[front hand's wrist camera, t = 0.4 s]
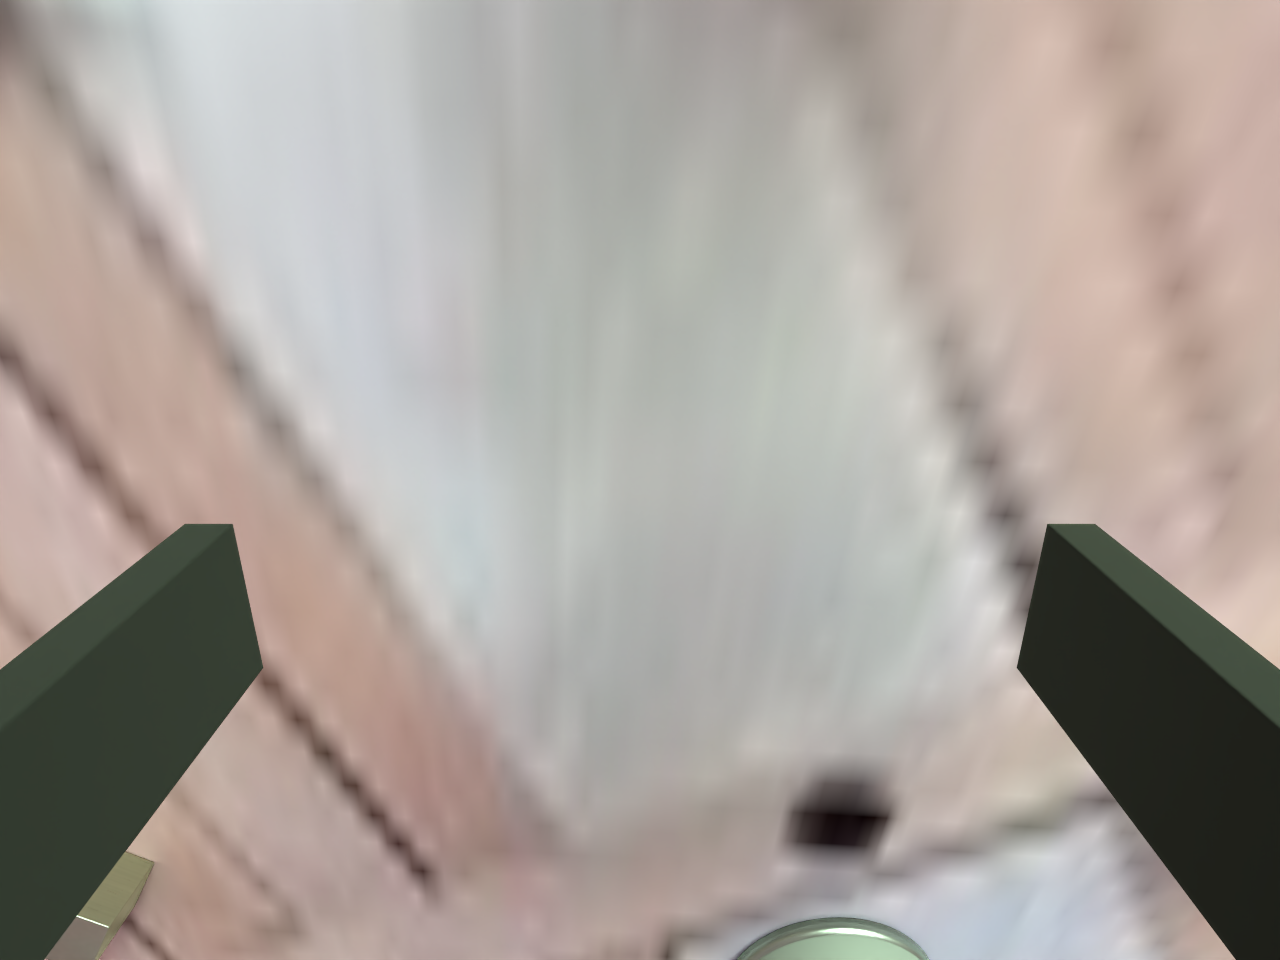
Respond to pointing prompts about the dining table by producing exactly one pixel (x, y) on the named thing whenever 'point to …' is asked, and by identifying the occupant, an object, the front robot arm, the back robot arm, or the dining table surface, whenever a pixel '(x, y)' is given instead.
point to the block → (104, 911)
